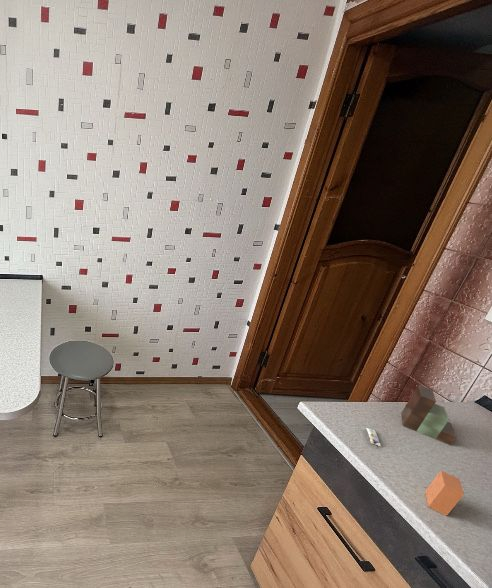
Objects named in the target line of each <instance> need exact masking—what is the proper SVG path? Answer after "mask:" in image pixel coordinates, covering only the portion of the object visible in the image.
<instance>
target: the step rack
mask: <svg viewBox="0 0 492 588" xmlns="http://www.w3.org/2000/svg"><path fill="white" fill-rule="evenodd" d="M400 415H401V422H402V427H404V428H407V429H410V430H412V431H415V432H417V433H419V434H422V435H424V436H427V437H430V438H432V439H434V440H437V441H440V442H442V443H444V444H447V445H449V446H451V445H452V444H453V443H454V442H455V440H456V439H457V435H456V432H455V428H454V426H453V423H452V422H449V417H448V414H447V410H446V408H445V406H442V405H440V404H437V400H436V397H435V393H434V390H433V389H432V388H429V387H427V386H424V385H420V384H418V385H417V386H416V388H415V390H414V391H413V393H412V395H411V396H410V398H409V400H408V401H407V403H406V405H405V406H404V408H403V409H402V411H401V413H400Z"/></svg>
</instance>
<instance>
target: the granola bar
mask: <svg viewBox="0 0 492 588" xmlns="http://www.w3.org/2000/svg"><path fill="white" fill-rule="evenodd" d="M365 429H366V430H367V431H366V432H367V433H368V437H369V439H370V444H372V445H375V446H378V447H382V445H381V441H380V439H379V436H378V433H377V431H376V430H375V429H371V428H369V427H365Z"/></svg>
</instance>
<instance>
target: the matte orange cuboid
mask: <svg viewBox="0 0 492 588" xmlns="http://www.w3.org/2000/svg"><path fill="white" fill-rule="evenodd" d="M463 489H464V488H463V486H462V482H461V480H460V478H459V477H456V476H454V475H452V474H450V473H447V472H445V471H443V470H439V472H438V473H437V475H436V476H435V477H434V479H433V480H432V482H431V483H430V484H429V485H428V487H427V488H425V490H424V492H425V497H426V498H425V499H426V503H427V507H428V508H429V509H432V510H434V511H435V512H437V513H440V514H442V515H444V516H446V517H447V516H448V515H449V514H450V512H452V510H453V509H454V508H455V507H456V505H457V504H458V503H459V502H460V501H461V500H462V498H463V497H464V495H465V493H464V490H463Z"/></svg>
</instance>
